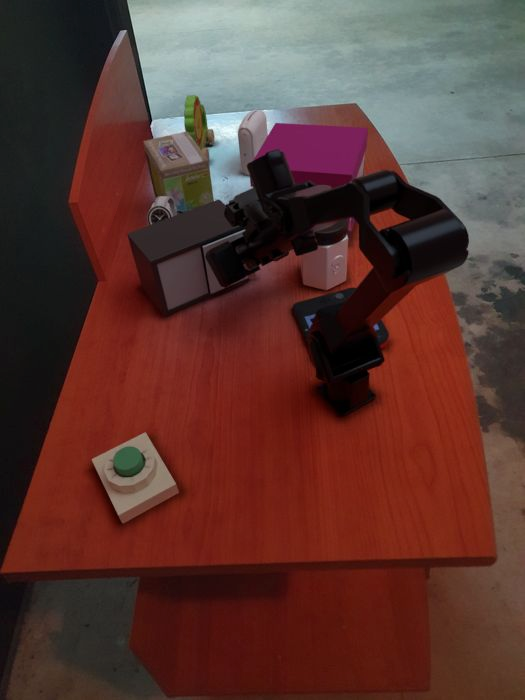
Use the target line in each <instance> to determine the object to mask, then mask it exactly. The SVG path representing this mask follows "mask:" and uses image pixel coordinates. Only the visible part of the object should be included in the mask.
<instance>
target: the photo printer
mask: <svg viewBox="0 0 525 700" xmlns="http://www.w3.org/2000/svg"><path fill="white" fill-rule="evenodd" d="M268 135H269V133H268V120H267V115H266V113H265V112H264V111H263V110H262V109H252V110H251V111H249V112H248V113H247V114H246V115H245V116H244V117H243V118H242V121H241V122H240V124H239V127H238V129H237V139H238V140H237V141H238V150H239V161H240V170H241V173H242V174H243V175H245V176H250V174H249V172H248V169H247V164H248V163H250V162H252V161H253V160H254V158H255V156H256V155H257V153H258V151H259V150H260V148H261V146H262V145H263V143H264V141H265V140H266V138H267V136H268Z"/></svg>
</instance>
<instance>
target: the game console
mask: <svg viewBox="0 0 525 700" xmlns="http://www.w3.org/2000/svg"><path fill="white" fill-rule="evenodd" d="M356 288H357V287H347V288H344V289H340V290H337V291H333V292H330V293H329V292H328V293H326V294H322V295H319V296H315V297H311V298H307V299H304V300H300V301H297V302H295V303H293V304H292V312H293V313H294V317H295V318H296V321H297V323H298V325H299V328H300V330H301V332H302V334H303V338H304V340H305V342H306V344H307V347H308V348H309V344H308V335H309V333H310V332H309V331H310V326H311V324H313V323H312V322H311V321H310V319H312V318H314V317H315V314H316V312H317V311H318V310H319V309H321V308H323V307H326V306H329V305H332V304H334V303H337V302H340V301H342V300H345V299H348V298H349V297H350V295H351V294H352V293H353V292H354V290H355V289H356ZM374 328H375V331H376V333H377V334H376V337H377V340H378V342H379V345H380V348H381V350H382V349H383V348H385V347H386V346H387V345H388V340H389V338H390V332H389V330H388V328H387V327H386V325H385V323H384V322H383V320H382V319H381V320H380V321H379V322H378V323H377V324H376V325H375V326H374Z"/></svg>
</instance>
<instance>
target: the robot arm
mask: <svg viewBox="0 0 525 700" xmlns="http://www.w3.org/2000/svg"><path fill="white" fill-rule="evenodd" d="M247 169H248V172H249V174H250V175H249V178H250V177H251V180H252V183H253V185H254V188H253V187H251V188H249V189H247V190H245V191H243V192H241V193H238V194H236V195H235V196H234V198H233V199H230V200H229V201H228V203H227V204H225V205H226V208H225V211H224V216H225V218H226V219H227V221H228V222H229V223H230V225H231V226H232V227H235V226H240V227H241V228H242V227H243V228H244V229H245V231H244V232H243V233H242V235H243V237H240V238H238V239H236V240H234V241H232V242H231V243H230V242H229V241H227V242H224V243H222V244H220V245H218V246H216V247H214V248H212V249H210V250H209V251H208V252H207V253H206V256H205V258H206V260H207V262H208V263H209V265H210V267H211V269H212V271H213V273H214V275H215V277H216V278H217V280H218V282H219V284H220V286H221V287H224V288H226V287H228V286H230V285H232V284H234V283H236V282H238V281H240V280H241V279H243V278H245V277H246V276H248V275H251V274H253V273H255V274H256V272H258V271H260V270H261V267H260V265H261V266H262V267H264V266H266V265H268V264H270V263H272V262H278V261H280V260H282V259H284V258H286V257H288V256H289V255H290V252H291V251H293V252H294V254H295V256H296V257H300V255H303V254H306V253H309V252H312V251H316V250H317V249H318V243H317V232H316V231H319V230H322V229H325V228H328V227H331V226H332V225H334V224H335V223H337V222H338V221H339V220H343V219H348V218H354V219H355V222H356V223H357V225H358V248H359V251H360V252H361V253H362V255H363V256H364V257H365V258H366V260H367V261H368V262H369V263H370V265H371V266H372V267H371V269H370V270H369V272H368V273H367V274H366V275H365V276H364V278H363V279H362V281H361V282H360V283H359V284H358V285H357V286H356V287H355V288H356V289H355V290H354V292H353V293H352V294H351V295H350V297H349V298H348V299H345V300H342V301H340V302H337V303H334V304H332V305H329V306H326V307H323V308H321V309H319V310H318V311H317V312H316V314H315V317H314V318H312V319H310V321H311V322H312V323H313V324H311V326H310V331H309V332H310V333H309V335H308V344H309V347H308V349H309V355H310V359H311V364H312V366H313V368H314V369H315V378H316V379H317V380H318V381H322V382H323V383H321V384H320V385H317V386H316V388H315V391H316V393H317V394H318V395H319V396H320V397H321V398H322V399H323V400H324V401H325V402H326V403H327V405H328V406H329V407H330V408H331V409H332V410H333V411H334V412H335V413H336V414H337V415H338V416H339V417H341V418H344V417H346V416H347V415H349V414H351V413H352V412H354V411H356V410H358V409H360V408H361V407H363V406H365V405H367V404H369V403H370V402H372V401H374V400H375V399H376V396H377V395H376V393H375V392H374V391H372V390H371V388H369V387H370V386H369V385H370V375H371V373H370V372H369V371H370V370H372V369H375V368H379V367H381V366H382V365H383V364H384V362H385V356H384V354H383V351H382V349H381V348H380V345H379V342H378V340H377V337H376V334H377V333H376V331H375V328H374V326H375V325H376V324H377V323H378V322H379V321H380V320H382V319H383V318H384V317H385V316H387V314H388V313H389V312H391V310H393V309H394V308H395V307H396V306H397V305H398V304H399V303H400V302H401V301H403V299H404V298H405V297H406V296H407V295H408V294H409V293H411V291H413V289H414V288H416V287H417V286H420V285H421V284H424V283H426V282H428V281H430V280H434V279H435V278H438V277H440V276H443V275H445V274H447V273H449V272H451V271H453V270H455V269H458V268H460V267H461V266H463V265H464V264H465V263H466V261H467V260H468V256H469V253H470V251H469V250H468V248H469V245H470V244H469V243H470V237H469V236H470V235H469V232H468V229H467V226H465V224H464V223H463V221H462V220H461V219H460V218H459V217H458V216H457V215H456V214H455V213H454V212H453V211H452V210H451V209H450V207H448V205H446V203H445V202H444V201H443V200H442V199H441V198H440V197H438V196H437V195H435V194H433V193H430V192H428V191H425V190H423V189H420V188H418V187H416V186H413V185H412V184H409V183H407V182H406V181H405V180H404V179H403V178H402V177H401V175H400V174H398V172H396V171H395V170H394V169H392V170H391V169H389V170H388V169H381V170H377V171H374V172H370V173H367V174H364V175H363V176H360V177H357V178H354V179H352V180H351V181H350V182H349V183H347V184H344V185H341V186H338V187H335V188H331V186H329V185H317V184H315V183H313V182H312V181H310V180H309V181H306V182H303V183H299V184H295V181H294V178H293V175H292V173H291V170H290V167H289V165H288V162H287V159H286V156H285V154H284V152H280V150H279V149H276V150H273V151H269V152H266V154H265V155H264V156H261V157H259V158H257V159H256V160H254V161H252V162H250V163H248V164H247ZM389 210H393V212H394V213H396V214H397V215H399V216H401V217H404V218H405V219H408V220H405V221H402V222H399V223H396V224H394V225H391V226H388V227H384V228H382V229H380V230H378V229H377V228H376V226H375V225H374V224H373V222H371V216H373V215H376V214H379V213H383V212H386V211H389ZM246 240H249V241H247V242H246ZM308 344H307V345H308Z"/></svg>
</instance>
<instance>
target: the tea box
mask: <svg viewBox="0 0 525 700" xmlns="http://www.w3.org/2000/svg"><path fill="white" fill-rule="evenodd" d="M143 148H144V153H145V157H146V162H147V166H148V171H149V176H150V181H151V186H152V189H153V195H154V199H155V200H156V199H157V197H159V196H171V197H172V198H173V199H174V202H175V207H176V208H177V215H178V214H181V213H183V212H186V211H189V210H191V209H194V208H197V207H199V206H202V205H205V204H208V203H210V202H213V201H215V200H214V199H215V198H214V192H213V184H212V177H211V169H210V160H209V161H208V159H207V157H206V156H205V154H204V153H203V152H202V150H201V149H200V148H199V146H198V145H197V144H196V142H195V141H194V140H193V138H192V137H191V136H190V134H189V133H188V132H187V131H183V132H177V133H173V134H169V135H165V136H160V137H154V138H151V139H146V140H143ZM155 200H154V201H155Z"/></svg>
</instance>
